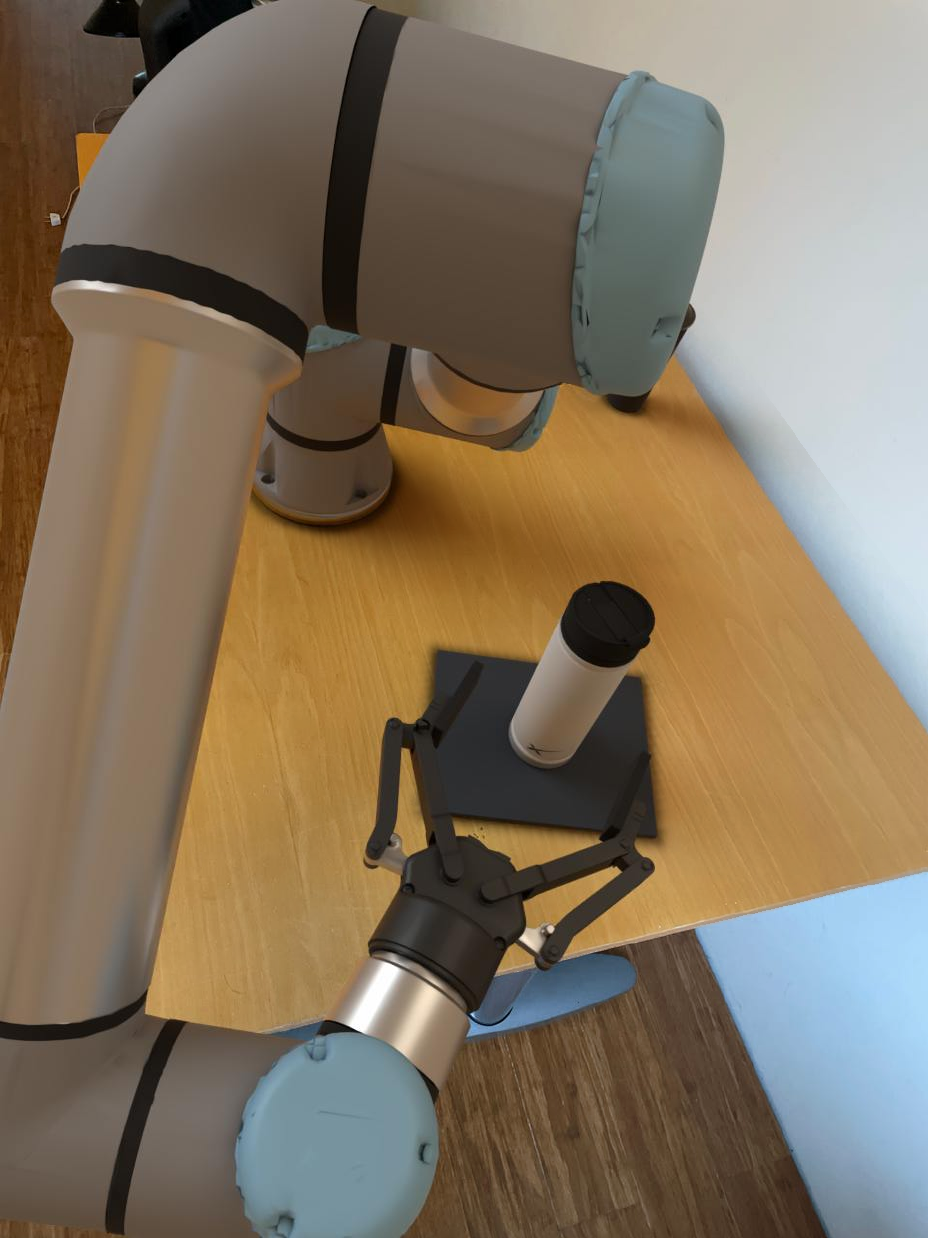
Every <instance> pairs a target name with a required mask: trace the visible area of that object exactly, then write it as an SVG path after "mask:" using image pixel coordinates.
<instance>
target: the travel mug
mask: <svg viewBox="0 0 928 1238" xmlns="http://www.w3.org/2000/svg"><path fill="white" fill-rule="evenodd" d="M655 625H656V615H655V611H654V609H653V607H652V605H651V604H650V602H649V601H648V599H647V598H645V596H644V595H643V594H641V592H639V591H637V590H636V589H635V588H632V587H631V586H628V585H626V584H625V583H621V582H618V581H614V580H600V581H599V582H597V581H596V582H595V581H594V582H589V583H585V584H584V585H581V586H580V587H579V588H577V589H576V590H575V591H574V592H573V593H572V595H571V597H570V599H569V601H568V604H567V605H566V607H565V609H564V610H563V612H562V614H561V616H560V618H559V619H558V622H557V624H556V626H555V629H554V631H553V632H552V635H551V637H550V639H549V641H548V642H547V645H546V647H545V650H544V652H543V654H542V655H541V658H540V659H539V662H538V666H537V668H536V670H535V672H534V675H533V677H532V679H531V681H530V683H529V685H528V687H527V689H526V691H525V693H524V696H523V698H522V700H521V702H520V704H519V706H518V708H517V710H516V712H515V714H514V716H513V719H512V721H511V723H510V726H509V739H510V743H511V745H512V747H513V749H514V751H515V752H516V754H517V755H518V756H519V757H520V758H521V759H522V760H524V761H525V762H527V763H528V764H530V765H532V766H535V767H538V768H544V769H551V768H557V767H560V766H562V765H564V764H566V763H567V762H568V761H569V760H570V759H571V758H572V756H573V755H574V753H575V752H576V750H577V748H578V747H579V745H580V744H581V742H582V741H583V739H584V738H585V736H586V735H587V733H588V731H589V730H590V728H591V727H592V725H593V724H594V722H595V721H596V719H597V718H598V716H599V715H600V713H601V711H602V710H603V708H604V707H605V705H606V704H607V702H608V701H609V699H610V698H611V696H612V694H613V693H614V691H615V690H616V688H617V687H618V685H619V684H620V682H621V681H622V679H623V677H624V676H625V675H627V673H628V672H629V669H631V667H632V665H633V663H634V662H635V660H636V659H637V657H638V656H639V655H640V652H641V651H642V650H643V649H646V648H647V647H648V646H649V645H650V643H651V637H650V636H651V634H652V632H653V631H654V629H655Z"/></svg>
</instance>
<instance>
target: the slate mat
mask: <svg viewBox="0 0 928 1238" xmlns="http://www.w3.org/2000/svg"><path fill="white" fill-rule="evenodd" d="M435 658H436V659H435V672H434V673H435V674H434V685H433V698H434V697H435V695H437V694H438V693H440V692H443V693H445V694H447V695H448V696H450V697H452V696H453V695H454V693H455V691H456V690H457V688H458V687H459V685H460V684H461V682H462V680H463V679H464V677H465V676H466V674H467V672H468V671H469V669H470V668H471V666H472V665H473V663H474V661H475V660H476V661H478V662H480V663H482V664H484V667H483V670H482V672H481V675H480V678H479V680H478V683H477V685H476V686H475V688H474V690H473V691H472V693H471V695H470V696H469V698H468V699H467V701H466V703H465V704H464V706H463V708H462V709H461V711H460V712H459V714H458V716H457V717H456V719H455V721H454V722H453V724H452V725H451V727H450V729H449V730H448V732H447V734H446V735H445V737H444V738H443V740H442V742H441V743H440V745H439V747H438V748H437V749H436V748H434V749H435V753H436V758H437V762H438V767H439V771H440V776H441V780H442V785H443V789H444V793H445V798H446V802H447V807H448V811H449V814H450V815H451V816H452V817H459V818H461V817H462V818H469V819H478V820H486V821H487V820H488V821H498V822H506V823H507V822H508V823H515V824H521V825H522V824H523V825H532V826H541V827H549V828H558V829H569V830H576V831H586V832H595V833H601V832H602V830H603V828H604V825H605V823H606V821H607V818H608V816H609V813H610V811H611V809H612V806H613V804H614V802H615V799H616V797H617V795H618V792H619V790H620V788H621V785H622V783H623V781H624V778H625V776H626V773H627V771H628V769H629V767H630V765H631V764H632V763H633V761H634V760H635V759H636V758H637V756H638V755H639V754H640V753H641V751H642V750H643V751H645V752H647V753H649V754H650V752H649V743H648V733H647V724H646V714H645V705H644V694H643V684H642V677H640V676H632V675H627V674H625V676H624V677H623V679H622V681H621V682H620V684H619V685H618V687H617V688H616V690H615V691H614V693H613V694H612V696H611V698H610V699H609V701H608V702H607V704H606V705H605V707H604V708H603V710H602V711H601V713H600V715H599V716H598V718H597V719H596V721H595V722H594V724H593V725H592V727H591V728H590V730H589V731H588V733H587V735H586V736H585V738H584V739H583V741H582V742H581V744H580V745H579V747H578V748H577V750H576V752H575V753H574V755H573V756H572V758H571V759H570V760H569V761H568V762H567V763H566V764H564V765H562V766H560V767H557V768H551V769H544V768H538V767H535V766H532V765H530V764H528V763H527V762H525V761H524V760H522V759H521V758H520V757H519V756H518V755H517V754H516V752H515V751H514V749H513V747H512V745H511V743H510V739H509V726H510V723H511V721H512V719H513V716H514V714H515V712H516V710H517V708H518V706H519V704H520V702H521V700H522V698H523V696H524V693H525V691H526V689H527V687H528V685H529V683H530V681H531V679H532V677H533V675H534V672H535V670H536V668H537V666H538V664H539V662H530V661H523V660H517V659H516V660H515V659H508V658H501V657H494V656H488V655H487V656H486V655H479V654H473V653H465V652H459V651H450V650H444V649H437V651H436V657H435ZM635 798H637V799H638V800H640V801H642V802H644V803H646V813H645V815H644V817H643V820H642V822H641V825H640V828H639V830H638V833H637V835H636V837H637V838H638V837H640V838H649V839H656V838H657V837H658V829H657V818H656V809H655V799H654V789H653V780H652V770H651V760H650V761H649V764H648V766H647V769H646V771H645V774H644V776H643V778H642V781H641V783H640V786H639V788H638V791H637V793H636V796H635Z"/></svg>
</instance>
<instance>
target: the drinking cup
mask: <svg viewBox="0 0 928 1238" xmlns="http://www.w3.org/2000/svg"><path fill="white" fill-rule="evenodd" d="M696 318H697V313H696V310H695V307H693V305H692V304H691V303H690V302H689V306H688V309H687V312H686V315H685V318H684V321H683V324H682V327H681V330H680V333H679V336H678V338H677V341H676V344H675V346H674V349H673V352H672V354H671V356H670V358H669V361H668V363H669V362H670V360H671V358H672V356H673V355H674V353H675V352H676V350H677V349H678V346H679V345H680V343H681V341H682V340H683V338H684V337H685V335H686V333H687V331H688V329H690V328H691V327H692V326H693V325H694V324H695V321H696ZM653 389H654V387H653V388H652V389H651V390H649V391H648V392H647V393H645V394H642V395H640V396H624V395H618V394H611V393H609V394H606V400H607V402H608V403H609V404H610V405H611V406H612V407H614V408H615V409H617V410H618V411H621V412H625V413H635V412H638V411H640V410H642V407H643V406H644V404H645V402H646V400H647V399H648V397H649V396H650V394H651V392H652V391H653Z"/></svg>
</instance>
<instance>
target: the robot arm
mask: <svg viewBox="0 0 928 1238" xmlns="http://www.w3.org/2000/svg"><path fill="white" fill-rule="evenodd" d="M725 144H726V143H725V126H724V123H723V121H722V117H721V115H720V113H719V111H718V110H717V107H715V106H714V105H713V103H711V101H709V100H708V99H707V98H705V97H704V96H701V95H698V94H696V93H693V92H689V91H687V90H683V89H680V88H678V87H675V86H672V85H668V84H666V83H663V82H660V81H658V80H657V78H656V77H655V76H654V75H652V74H650V72H649V71H644V70H633V71H630V73H629V74H625V73H622V72H618V71H614V70H609V69H605V68H603V67H599V66H594V65H591V64H587V63H583V62H580V61H576V60H572V59H568V58H564V57H560V56H557V55H553V54H550V53H547V52H543V51H538V50H535V49H532V48H528V47H524V46H520V45H516V44H513V43H509V42H505V41H502V40H498V39H494V38H491V37H487V36H484V35H480V34H476V33H472V32H469V31H464V30H462V29H457V28H454V27H450V26H446V25H442V24H439V23H435V22H431V21H428V20H424V19H421V18H416V17H412V16H407V15H403V14H399V13H395V12H393V11H388V10H385V9H381V8H378V7H377V5H375V4H371V3H366V2H363V1H360V0H274V1H271V2H268V3H267V2H266V3H264V4H260V5H258V6H256V7H253V8H251V9H249V10H246V11H245V12H241V13H240V14H238V15H236V16H234V17H231V18H229V19H228V20H225V21H223V22H222V23H221V24H219V25H217V26H215V27H214V28H212V29H211V30H210V31H208V32H207V33H205V34H204V35H202V36H201V37H200V38H198V39H196V40H195V41H194V42H193V43H191V44H190V45H188V46H187V47H185V48H184V49H182V50H181V51H180V52H179V53H177V54H176V56H175V57H173V58H172V60H171V61H170V62H168V63H167V64H166V66H164V67H163V68H162V69H161V70H160V72H158V73H157V74H156V75H155V76H154V77H153V78H152V79H151V80H150V81H149V83H147V85H146V86H144V88H143V89H142V91H141V92H140V93H139V94H138V95H137V97H136V98H135V99H134V101H133V102H131V104H130V105H129V107H128V108H127V109H126V110H125V112H124V113H123V114H122V115H121V117H120V119H119V120H118V122H117V123H116V124H115V126H114V127H113V128H112V131H111V132H110V134H109V135H108V137H107V138H106V139H105V141H104V142H103V145H102V147H101V148H100V150H99V151H98V153H97V156H96V157H95V159H94V161H93V163H92V165H91V167H90V169H89V171H88V172H87V174H86V176H85V177H84V179H83V182H82V185H81V187H80V189H79V192H78V194H77V196H76V199H75V201H74V203H73V206H72V209H71V211H70V213H69V216H68V219H67V224H66V226H65V227H66V228H65V231H64V236H63V240H62V244H61V249H60V253H59V258H58V263H57V268H56V272H55V277H54V282H53V287H52V292H51V298H50V301H51V305H52V307H53V308H54V310H55V311H56V313H57V314H58V316H59V318H60V320H61V321H62V322H63V324H64V325H65V327H66V329H67V330H68V332H69V334H70V335H71V336H72V339H73V343H72V347H71V353H70V358H69V362H68V367H67V374H66V378H65V383H64V388H63V392H62V399H61V403H60V408H59V413H58V417H57V423H56V428H55V431H54V432H55V433H54V438H53V442H52V448H51V453H50V457H49V462H48V468H47V472H46V477H45V483H44V487H43V492H42V498H41V503H40V508H39V513H38V518H37V523H36V527H35V532H34V538H33V543H32V547H31V552H30V557H29V563H28V568H27V573H26V578H25V583H24V588H23V593H22V598H21V603H20V606H19V607H20V609H19V613H18V618H17V624H16V627H15V633H14V638H13V641H12V642H13V643H12V646H11V647H12V648H11V653H10V658H9V662H8V668H7V673H6V677H5V683H4V688H3V692H2V698H1V703H0V1220H7V1221H15V1222H23V1223H30V1224H39V1225H47V1226H55V1227H63V1228H72V1229H79V1230H86V1231H87V1230H88V1231H95V1232H103V1233H106V1234H111V1235H117V1236H124V1237H126V1238H401V1237H403V1236H404V1235H405V1234H406V1233H407V1231H408V1230H409V1228H410V1227H411V1226H412V1225H413V1224H414V1222H415V1221H416V1219H418V1216H419V1215H420V1214H421V1211H422V1209H423V1208H424V1206H425V1203H426V1201H427V1198H428V1196H429V1194H430V1191H431V1188H432V1185H433V1181H434V1178H435V1175H436V1169H437V1164H438V1160H439V1157H440V1151H439V1146H440V1145H439V1144H440V1143H439V1142H440V1141H439V1139H440V1138H439V1137H440V1136H439V1124H438V1117H437V1113H436V1108H435V1104H436V1102H437V1100H438V1099H439V1096H440V1095H441V1094H442V1091H443V1090H444V1087H445V1085H446V1084H447V1081H448V1079H449V1076H450V1074H451V1072H452V1069H453V1068H454V1065H455V1063H456V1061H457V1059H458V1056H459V1054H460V1052H461V1050H462V1048H463V1045H464V1044H465V1041H466V1039H467V1036H468V1034H469V1032H470V1029H471V1027H472V1025H471V1022H470V1019H469V1017H468V1015H471V1014H473V1013H474V1012H475V1013H476V1012H477V1011H479V1010H480V1008H481V1006H482V1004H483V1002H484V1000H485V998H486V996H487V993H488V991H489V989H490V987H491V985H492V982H493V980H494V978H495V976H496V973H497V971H498V969H499V967H500V965H501V963H502V961H503V959H504V956H505V954H506V952H507V951H508V949H510V947H511V946H512V945H514V944H516V946H518V947H519V948H521V949H522V950H523V951H525V952H526V953H528V954H529V955H530V956H531V957H533V959H534V960H533V961H534V964H535V967H536V969H538V970H540V971H542V972H547V971H549V970H550V969H552V968H553V967H554V966H555V965H556V964H557V963H559V961H561V960H562V959H563V957H564V955H565V954H566V952H567V950H568V948H569V947H570V944H571V943H572V942H573V939H574V938H575V937H576V936H577V935H578V934H580V933H581V932H583V930H585V929H586V928H587V927H588V926H590V925H591V924H592V923H593V922H595V921H596V920H597V919H599V918H600V917H601V916H602V915H603V914H605V913H606V912H607V911H608V910H610V909H611V908H613V907H614V906H615V905H616V904H618V903H619V902H620V901H622V900H623V899H624V898H625V897H627V896H628V895H629V894H631V892H633V891H634V890H636V889H637V888H638V887H639V886H640V885H642V884H643V882H645V881H646V880H647V879H648V878H650V876H652V875H653V873H654V872H655V869H656V865H655V863H654V861H653V860H652V859H651V858H650V857H647V856H643V855H642V854H641V853H640V852H639V850H638V849H637V848H636V844H635V841H636V838H637V836H636V835H637V833H638V830H639V828H640V825H641V822H642V820H643V817H644V815H645V813H646V803H644V802H642V801H640V800H638V799H637V798H635V796H636V793H637V791H638V788H639V786H640V783H641V781H642V778H643V776H644V774H645V771H646V769H647V766H648V764H649V761H650V762H651V759H652V756H653V755H652V754H651V753H650V752H649V753H647V752H645V751H643V750H642V751H641V753H640V754H639V755H638V756H637V758H636V759H635V760H634V761H633V763H632V764H631V765H630V767H629V769H628V771H627V773H626V776H625V778H624V781H623V783H622V785H621V788H620V790H619V792H618V795H617V797H616V799H615V802H614V804H613V806H612V809H611V811H610V813H609V816H608V818H607V821H606V823H605V825H604V828H603V830H602V832H600V835H599V837H598V841H600V842H599V843H596V844H593V845H590V846H588V847H586V848H585V847H584V848H582V849H579V850H577V851H574V852H572V853H569V854H566V855H563V856H561V857H557V858H555V859H552V860H550V861H547V862H544V863H541V864H533V865H530V866H527V867H525V868H522V869H520V870H517V869H516V866H515V864H513V863H512V862H511V860H512V858H511V857H510V856H508V855H506V854H504V853H503V852H500V851H497V850H494V849H489V848H488V847H487V846H486V844H484V843H483V842H482V841H481V840H480V839H478V838H477V837H475V836H473V835H472V834H470V833H469V834H468V835H467V836H465V835H457V834H456V829H455V826H454V825H455V824H454V820H453V816H451V815H450V814H449V811H448V807H447V802H446V798H445V793H444V789H443V785H442V780H441V776H440V771H439V767H438V762H437V758H436V753H435V749H434V748H436V749H437V748H438V747H439V745H440V743H441V742H442V740H443V738H444V737H445V735H446V734H447V732H448V730H449V729H450V727H451V725H452V724H453V722H454V721H455V719H456V717H457V716H458V714H459V712H460V711H461V709H462V708H463V706H464V704H465V703H466V701H467V699H468V698H469V696H470V695H471V693H472V691H473V690H474V688H475V686H476V685H477V683H478V680H479V678H480V675H481V672H482V670H483V667H484V664H482V663H480V662H478V661H476V660H475V661H474V663H473V665H472V666H471V668H470V669H469V671H468V672H467V674H466V676H465V677H464V679H463V680H462V682H461V684H460V685H459V687H458V688H457V690H456V691H455V693H454V695H453V696H452V697H450V696H448V695H447V694H445V693H443V692H440V693H438V694H437V695H435V697H434V696H433V698H432V700H431V701H430V703H429V704H428V706H427V708H426V709H425V710H424V712H423V714H422V715H421V716H420V717H419V718H417V719H415V722H414V723H407V722H402V720H401V719H400V718H398V717H390V718H388V719H387V720H386V722H385V725H384V730H383V734H382V738H381V747H380V748H381V750H380V759H379V760H380V762H379V773H378V786H377V797H376V798H377V799H376V811H375V822H374V823H375V824H374V827H373V830H372V832H371V834H370V836H369V838H368V840H367V842H366V846H365V849H364V853H363V858H362V863H363V865H364V867H365V868H367V869H370V870H376V869H378V868H379V867H380V868H382V869H385V870H387V871H388V872H390V873H393V874H395V875H398V876H400V882H399V887H398V889H397V890H396V892H395V895H394V896H393V898H392V899H391V901H390V903H389V905H388V906H387V908H386V910H385V911H384V914H383V915H382V917H381V918H380V921H379V922H378V924H377V926H376V928H375V929H374V931H373V932H372V934H371V936H370V938H369V940H368V942H367V950H368V956H363V957H360V958H358V959H357V960H356V962H355V964H354V966H353V968H351V971H350V973H349V974H348V976H347V978H346V980H345V982H344V983H343V985H342V986H341V988H340V990H339V992H338V993H337V995H336V997H335V999H334V1000H333V1002H332V1003H331V1006H330V1007H329V1009H328V1010H327V1013H326V1014H325V1016H324V1018H323V1020H322V1023H321V1025H320V1026H319V1028H318V1029H317V1031H316V1034H315V1037H313V1038H311V1039H310V1040H305V1039H298V1038H293V1037H287V1036H286V1037H285V1036H279V1035H275V1034H269V1033H268V1034H267V1033H261V1032H256V1031H248V1030H244V1029H243V1030H242V1029H236V1028H229V1027H223V1026H218V1025H211V1024H204V1023H197V1022H193V1021H192V1022H191V1021H187V1020H181V1019H176V1018H171V1017H170V1018H166V1017H165V1018H164V1017H160V1016H156V1015H152V1014H149V1013H146V1008H147V1007H146V1006H147V998H148V994H149V993H148V992H149V988H150V986H151V985H152V980H153V975H154V971H155V965H156V961H157V955H158V951H159V947H160V941H161V937H162V931H163V927H164V921H165V917H166V912H167V906H168V903H169V902H168V901H169V898H170V893H171V887H172V882H173V879H174V878H173V877H174V872H175V868H176V862H177V858H178V853H179V852H178V851H179V848H180V843H181V839H182V834H183V830H184V823H185V819H186V814H187V809H188V804H189V799H190V794H191V790H192V785H193V780H194V776H195V775H194V774H195V771H196V770H195V769H196V765H197V759H198V756H199V751H200V745H201V741H202V735H203V731H204V726H205V721H206V716H207V712H208V706H209V701H210V696H211V691H212V686H213V682H214V677H215V672H216V668H217V662H218V657H219V652H220V648H221V644H222V643H221V642H222V638H223V632H224V627H225V622H226V617H227V613H228V608H229V603H230V598H231V593H232V588H233V583H234V578H235V574H236V569H237V564H238V560H239V555H240V550H241V545H242V539H243V534H244V530H245V525H246V520H247V515H248V511H249V505H250V500H251V496H252V492H253V494H254V495H255V496H256V497H257V498H258V500H259V501H260V502H261V503H262V504H263V505H264V506H265V507H267V508H268V509H269V510H271V511H272V512H274V513H276V514H278V515H280V516H281V517H284V518H286V519H289V520H291V521H294V522H297V523H301V524H306V525H313V526H338V525H343V524H349V523H353V522H355V521H358V520H360V519H362V518H365V517H366V516H368V515H370V514H371V513H373V512H374V511H375V510H376V509H378V508H379V507H380V506H381V505H382V504H383V503H384V501H385V500H386V498H387V497H388V494H389V491H390V489H391V484H392V478H393V471H394V470H393V467H394V466H393V459H392V455H391V451H390V447H389V443H388V439H387V437H386V432H385V430H384V426H383V425H388V426H392V427H398V428H403V429H408V430H413V431H417V432H422V433H426V434H430V435H435V436H439V437H443V438H448V439H451V440H455V441H456V440H457V441H461V442H465V443H470V444H474V445H478V446H482V447H487V448H489V449H490V450H493V451H496V452H507V451H509V452H516V453H522V452H526V451H529V450H530V449H531V448H533V447H534V446H535V445H536V444H537V442H538V441H539V440H540V438H541V436H542V435H543V430H544V429H545V428H546V426H547V424H548V423H549V420H550V418H551V416H552V413H553V409H554V407H555V403H556V400H557V396H558V391H559V387H560V386H561V385H562V384H566V385H571V386H575V387H578V388H579V387H580V388H583V389H584V390H585V391H587V392H588V393H590V394H592V395H595V396H597V397H598V396H599V397H600V396H607V394H609V393H611V394H618V395H624V396H640V395H642V394H645V393H647V392H648V391H649V390H651V389H652V388H653V389H654V387H655V386H656V385H657V383H658V382H659V381H660V379H661V377H662V375H663V374H664V372H665V370H666V368H667V365H668V364H669V362H670V360H669V358H670V356H671V354H672V352H673V349H674V346H675V344H676V341H677V338H678V336H679V333H680V330H681V327H682V324H683V321H684V318H685V315H686V312H687V309H688V306H689V303H690V302H691V299H692V296H693V292H694V288H695V286H696V281H697V279H698V274H699V271H700V268H701V264H702V261H703V257H704V254H705V250H706V246H707V242H708V238H709V233H710V230H711V226H712V223H713V216H714V213H715V208H716V204H717V199H718V194H719V189H720V183H721V179H722V172H723V166H724V157H725ZM670 359H671V358H670ZM668 361H669V362H668ZM653 389H652V390H653ZM402 749H404V750H408V751H409V756H410V760H411V766H412V771H413V775H414V780H415V785H416V790H417V795H418V801H419V805H420V809H421V815H422V819H423V824H424V829H425V843H426V846H427V847H426V848H424V849H421V850H419V851H416V852H413V853H412V854H410V855H409V856H408V855H406V854H405V853H404V852H403V850H402V848H403V847H402V846H403V840H402V836H400V835H399V834H397V833H396V832H395V829H396V825H397V821H398V812H399V811H398V810H399V795H400V780H401V764H402V752H403V751H402ZM610 868H612V869H614V868H617V869H618V870H619V871H620V873H619V874H618V875H616V876H615V877H614V878H612V879H610V881H608V882H607V883H606V884H604V885H603V886H602V887H601V888H599V889H598V890H596V891H595V892H593V894H591V895H590V896H589V897H587V898H586V899H585V900H584V901H582V902H581V903H580V904H579V905H577V906H575V907H574V908H573V909H572V910H570V911H569V912H567V914H566V915H564V916H563V917H562V918H561V919H560V920H559V921H558V922H557V924H555V925H554V924H553V923H551V922H547V921H546V922H545V921H544V922H543V923H541V924H540V925H538V926H537V927H534V928H533V927H529V926H528V925H527V916H526V911H525V906H524V902H528V901H529V900H531V899H534V898H535V897H536V896H538V895H541V894H543V893H546V892H549V891H552V890H554V889H556V888H560V887H562V886H565V885H568V884H570V883H573V882H575V881H578V880H581V879H583V878H586V877H589V876H591V875H594V874H596V873H600V872H601V871H605V870H608V869H610Z"/></svg>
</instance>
